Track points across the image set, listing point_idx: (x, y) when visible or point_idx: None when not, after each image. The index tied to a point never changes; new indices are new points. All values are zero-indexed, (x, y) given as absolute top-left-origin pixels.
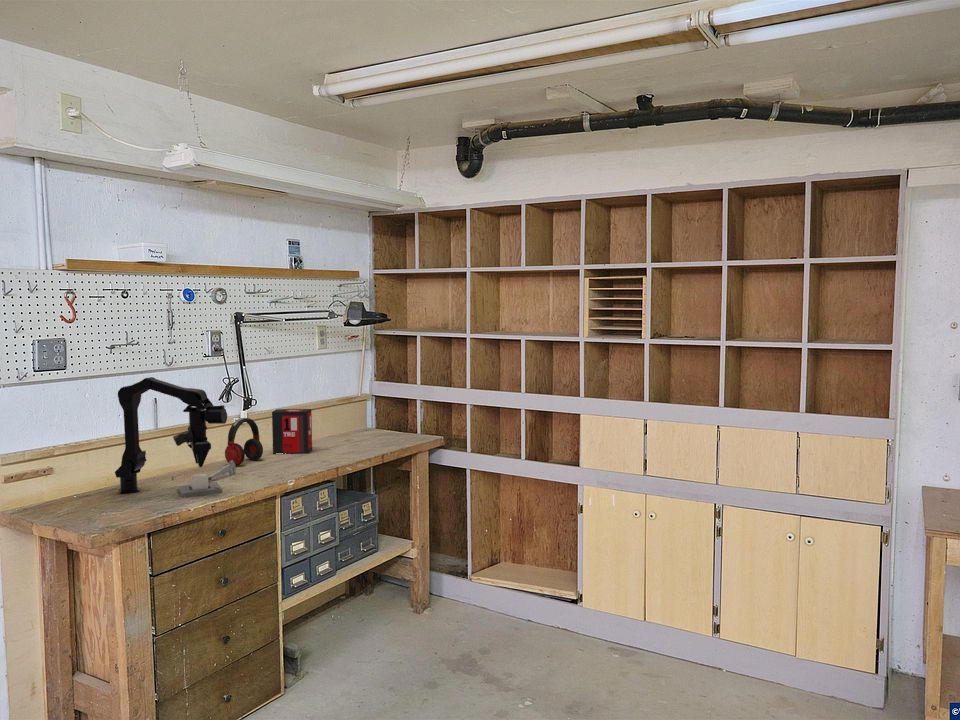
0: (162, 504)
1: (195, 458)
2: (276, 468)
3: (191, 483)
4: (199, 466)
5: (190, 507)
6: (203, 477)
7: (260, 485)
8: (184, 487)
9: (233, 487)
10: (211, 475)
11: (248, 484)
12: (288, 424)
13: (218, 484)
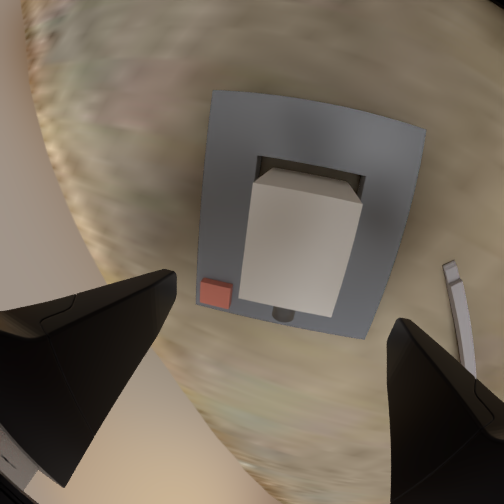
0: (151, 4)
1: (416, 352)
2: None
3: (318, 184)
4: (161, 273)
5: (53, 111)
6: (243, 265)
7: (235, 416)
8: (369, 150)
9: (270, 360)
10: (468, 354)
11: (279, 406)
12: None
13: (299, 326)
